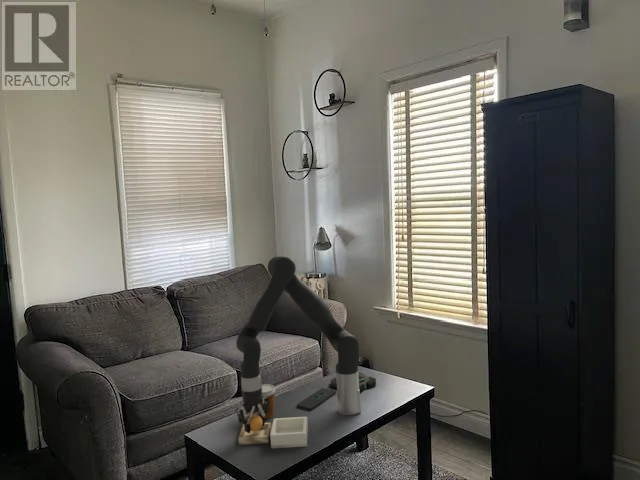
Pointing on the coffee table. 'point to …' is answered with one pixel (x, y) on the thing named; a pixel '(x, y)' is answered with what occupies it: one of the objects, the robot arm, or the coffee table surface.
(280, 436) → the white square bin
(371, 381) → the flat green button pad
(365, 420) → the coffee table surface
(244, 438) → the tray
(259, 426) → the ball
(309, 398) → the smart home device
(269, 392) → the disposable coffee cup
